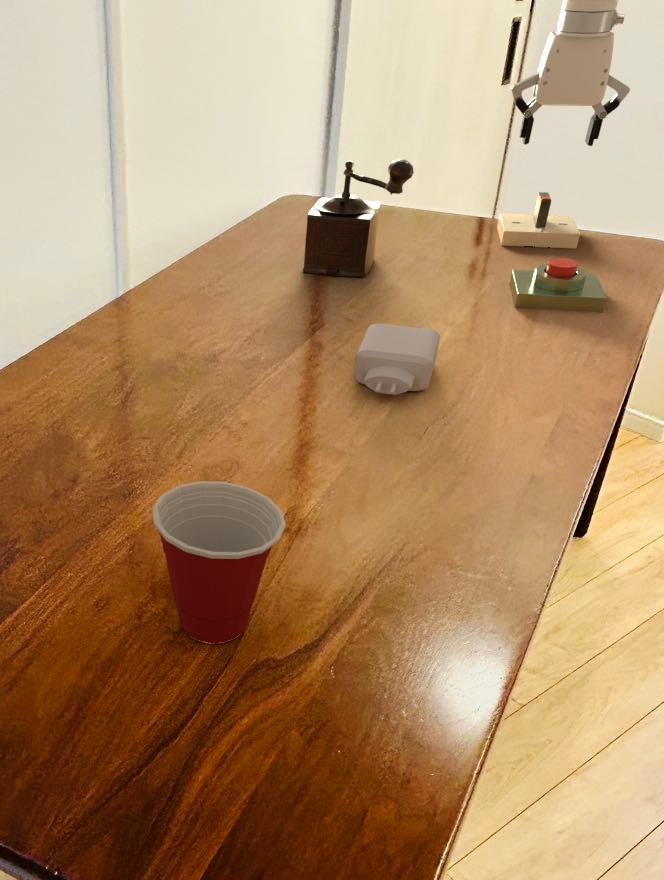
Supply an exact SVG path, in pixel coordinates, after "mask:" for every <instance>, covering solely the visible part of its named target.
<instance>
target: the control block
mask: <svg viewBox="0 0 664 880" xmlns="http://www.w3.org/2000/svg"><path fill="white" fill-rule="evenodd" d="M547 265H548V263H546V264H541V265H539V266H537V267H535V269H534V270H524V269H512V270H511V274H510V279H509V282H508V283H509V288H510V292H511V297H512V301H513V307H514V309H530V310H531V309H533V310H546V311H547V310H549V311H564V312H565V311H566V312H568V311H569V312H583V313H601V314H602V313H604V309H605V306H606V303H607V299H608V297H607V295H606V293H605V291H604V289H603V286H602V284H601V281H600V280H599V279H600V278H599V276H598V274H597V273H591V272H589V273H588V272H586V270H585V269H583V268H581V267H578V266H577V269H576V273H575V276H573V277H556V276H552V275H549V274H547V273H546V269H547Z"/></svg>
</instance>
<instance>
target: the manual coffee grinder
mask: <svg viewBox="0 0 664 880" xmlns="http://www.w3.org/2000/svg"><path fill="white" fill-rule="evenodd" d="M354 165H355V163H354V161H353V160H352V159H349V160H347V161H346V162H345V164H344V166H345V169H344V171H343V175H344V185H343V191H342V192H341V194H338V195H335V196H333V197H331V198H330V197H329V198H328V197H321V198H319V199H318V200H317V201H316V203H315V204H314V206H313V207H311V209H310V210H309V212H308V214H307V217H306V232H305V243H304V244H305V245H304V259H303V260H304V261H303V268H302V273H304V274H305V273H306V274H316V275H323V276H331V277H332V276H333V277H334V276H335V277H339V276H341V277H360V278H361V277H366V276H367V275H368V274H369V272H370V270H371V268H372V267H373V264H374V261H375V250H376V240H377V232H378V225H379V218H380V210H381V202H379V201H370V200H364V199H362V198H360V197H358V196H357V195H354V194H351V192H350V190H351V181H352V179H353V180H355V181H358V182H361V183H366V184H368V185H372V186H375V187H379V188H382V189H384V190H386V191H387V192H388V193H389V194H390V195H391V196H392V195H393V194H394V195H395V194H396V195H399V194H400V195H401V194H402V193H403V190H404V189H403V187H404V184H405V183H407V182H408V181H409V180H410V179H411V178H412V177H413V175H414V172H415V171H414V166H413V164H411V162H409V161H408V160H407V159H404V158H398V159H395V160H393V161H392V162H390V164H389V165H388V167H387V172H388V177H389V178H388V179H389V181H388V182H384V181H382V180H379V179H377V178H372V177H369V176H364V175H360V174H357V173H355V172H354V170H353V168H354Z"/></svg>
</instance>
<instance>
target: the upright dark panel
mask: <svg viewBox="0 0 664 880" xmlns="http://www.w3.org/2000/svg"><path fill="white" fill-rule="evenodd" d="M551 204H552V198H551V196H550V193H549V192H546V191H543V192H542V191H538V193H537V197H536V202H535V206H534V210H533V214H532V215H533V221H534V224H535V227H545V226H546V222H547V218H548V215H550V213H549V212H550V209H551Z"/></svg>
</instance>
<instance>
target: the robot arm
mask: <svg viewBox="0 0 664 880" xmlns="http://www.w3.org/2000/svg"><path fill="white" fill-rule="evenodd" d="M618 3H619V0H562V5H561V9H560V14H559V19H558V23H557V28H556V31H551V32H550V33H549V35H548V38H547V41H546V43H545V46H544V49H543V53H542V55H541V59H540V62H539V66H538V69H537V73H535V74H533V75H531V76H529V77H527V78H525V79H522V80H520V81H518V82H517V83H514V84H512V86H510V91H511V94H512V97H513V98H512V99H513V101H514V104H515V106H516V108H517V109H518V110H519V111H520V113H521V114H522V115H523V117H522V121H521V125H520V131H519V136H518V137H519V138H520V139H522V140H521V141H522V143H523V145H529V144H530V139H531V137H532V136H531V135H532V132H533V126H534V121H535V118H534V114H535V113H536V112H537V111H538V110H539V109H541V108H542V106H549V107H550V106H551V107H553V106H554V107H560V106H561V107H592V109H593V111H594V113H593V114H592V116H590V118H589V119H590V120H589V124H588V127H587V131H586V135H585V138H584V142H585V143H586V145H587V146H588V147H593V145H594V141H595V140H599V136H600V133H601V129H602V126H603V121H604V120H605V119H606V118H607V116H608V115H610V114H611V113H612V112H613V111H615V110H616V109H617V108H618V107H619V106H620V104H621V103H622V102H623V100H625V98H627V96H628V95H629V94H630V92H631V88H630V87H629V86H628V85H627V84H625V83H624V82H622V81H621V80H619V79H618V78H616V77H614V76H612V75H610V72H611V66H612V60H613V53H614V45H615V44H614V43H615V33H614V32H612V31H613V28H614V27H615V26H617V25H623V24H624V21H625V17H626V16H625V14H624V13H619V12H618V11H617V7H618ZM532 87H533V90H532V97H533V98H532V99H531V100H530V101H529V102H528V103H527V102H526V101H525V100H524V97H523V94H522V93H523V92H524V91H525V90H527V89H530V88H532ZM607 87H610V88H611V89H613V90H614V91H615V94H614V96H613V97H612V98H611V99H609V100H608V101H607V102H605V104H603V103H602V102H603V100H604V97H605V95H606V92H607Z"/></svg>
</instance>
